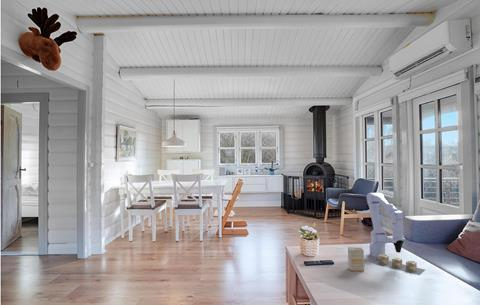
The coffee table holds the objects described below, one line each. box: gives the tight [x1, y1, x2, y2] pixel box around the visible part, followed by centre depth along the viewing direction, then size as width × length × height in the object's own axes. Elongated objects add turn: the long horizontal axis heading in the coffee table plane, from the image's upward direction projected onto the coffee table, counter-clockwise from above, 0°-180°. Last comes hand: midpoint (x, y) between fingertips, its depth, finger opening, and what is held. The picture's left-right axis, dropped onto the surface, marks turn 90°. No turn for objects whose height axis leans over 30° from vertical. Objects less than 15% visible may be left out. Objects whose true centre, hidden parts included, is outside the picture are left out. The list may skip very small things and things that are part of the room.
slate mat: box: [370, 257, 426, 276], centre depth 180 cm, size 28×12×1 cm, turn 42°
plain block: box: [391, 256, 403, 268], centre depth 180 cm, size 4×4×4 cm
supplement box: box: [347, 246, 365, 272], centre depth 176 cm, size 8×5×13 cm, turn 84°
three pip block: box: [405, 259, 418, 271], centre depth 174 cm, size 4×4×5 cm
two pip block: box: [378, 254, 390, 264], centre depth 186 cm, size 4×4×5 cm
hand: (398, 252), depth 180 cm, fingers closed
